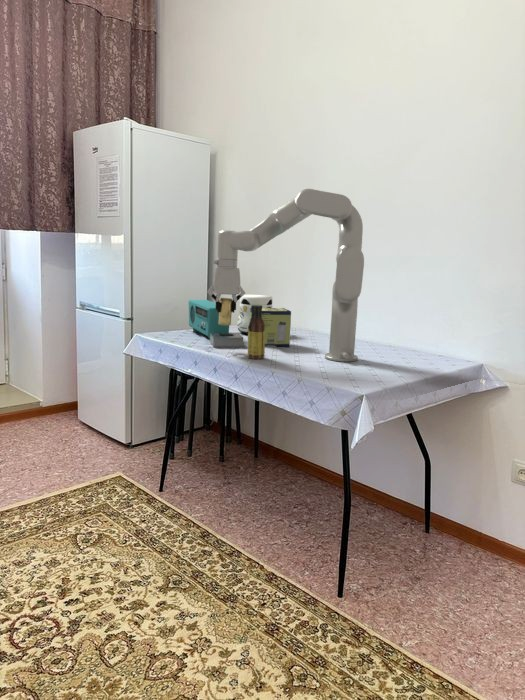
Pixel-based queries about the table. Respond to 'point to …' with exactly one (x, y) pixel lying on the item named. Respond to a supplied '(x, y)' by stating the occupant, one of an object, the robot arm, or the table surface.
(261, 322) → the sauce bottle
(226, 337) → the housing
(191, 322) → the radio
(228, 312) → the gold drink can
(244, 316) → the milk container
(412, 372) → the table surface
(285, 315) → the protein box
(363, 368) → the table surface
